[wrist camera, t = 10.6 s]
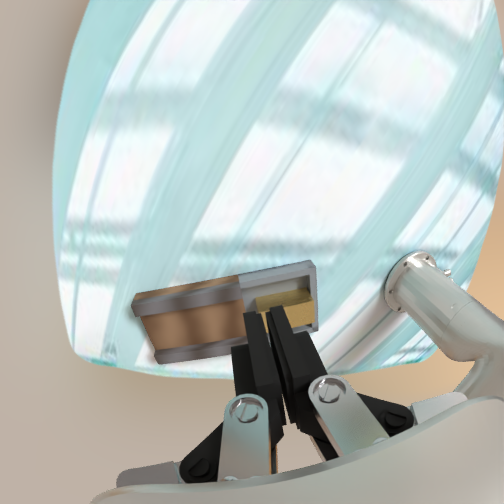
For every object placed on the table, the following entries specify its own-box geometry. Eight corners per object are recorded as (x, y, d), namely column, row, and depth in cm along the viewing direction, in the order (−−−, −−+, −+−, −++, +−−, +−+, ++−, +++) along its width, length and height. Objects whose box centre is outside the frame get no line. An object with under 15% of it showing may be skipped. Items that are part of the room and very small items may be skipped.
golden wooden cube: (280, 292, 42) (286, 306, 38) (283, 313, 44) (289, 328, 40) (255, 297, 42) (258, 312, 38) (258, 318, 43) (262, 333, 40)
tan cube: (305, 287, 42) (313, 300, 39) (307, 307, 44) (314, 322, 40) (280, 292, 42) (286, 306, 38) (283, 313, 44) (289, 328, 40)
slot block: (238, 274, 41) (240, 286, 37) (250, 336, 45) (253, 349, 42) (136, 293, 40) (130, 305, 37) (161, 350, 44) (158, 364, 41)
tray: (310, 259, 41) (315, 266, 39) (313, 322, 46) (318, 330, 44) (238, 274, 41) (239, 282, 38) (250, 336, 45) (252, 345, 43)
